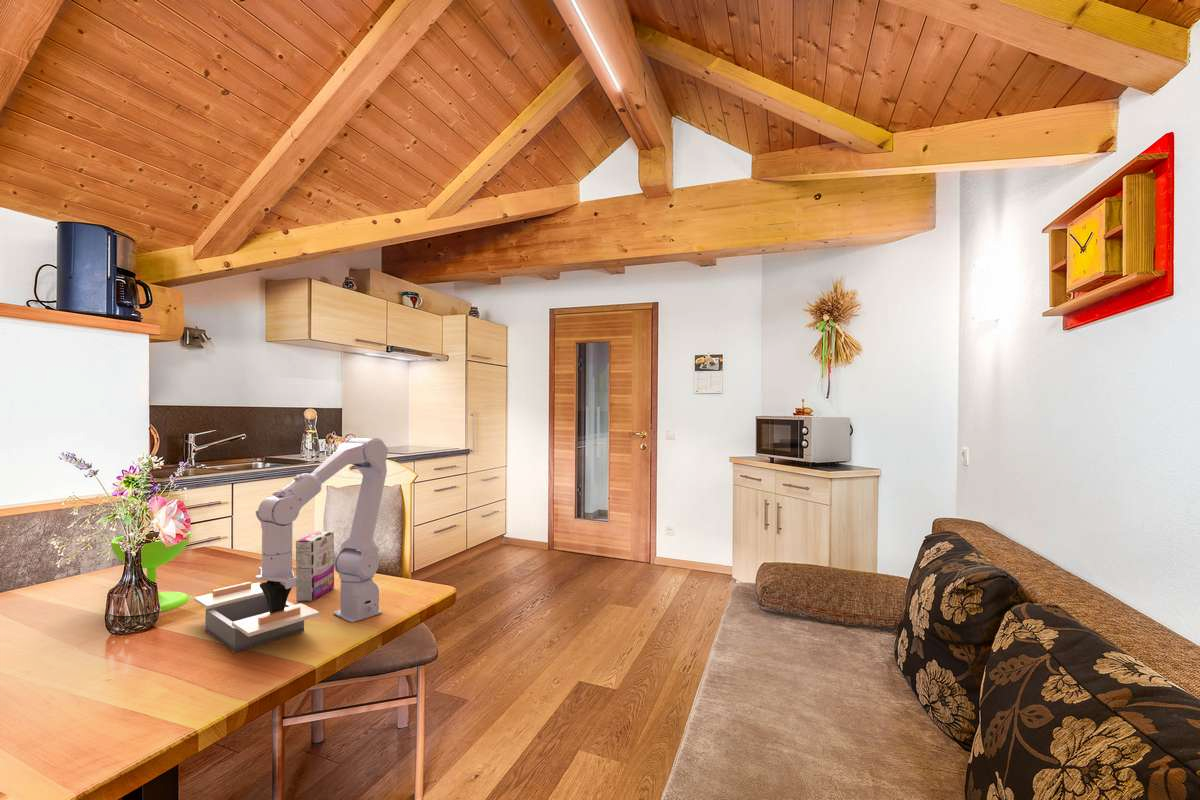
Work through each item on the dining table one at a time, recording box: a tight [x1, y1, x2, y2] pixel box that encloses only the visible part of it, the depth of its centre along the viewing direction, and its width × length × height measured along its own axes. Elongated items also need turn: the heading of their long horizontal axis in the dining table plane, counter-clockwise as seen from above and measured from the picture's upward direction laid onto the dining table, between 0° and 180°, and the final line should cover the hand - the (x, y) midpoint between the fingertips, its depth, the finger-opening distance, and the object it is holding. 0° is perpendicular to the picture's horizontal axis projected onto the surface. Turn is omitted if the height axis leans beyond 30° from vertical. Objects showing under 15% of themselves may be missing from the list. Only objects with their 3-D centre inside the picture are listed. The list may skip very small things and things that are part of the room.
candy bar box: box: [295, 530, 335, 602], centre depth 149 cm, size 11×5×16 cm, turn 179°
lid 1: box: [193, 581, 264, 610], centre depth 132 cm, size 9×14×2 cm, turn 142°
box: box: [204, 595, 305, 654], centre depth 125 cm, size 18×14×5 cm
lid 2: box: [232, 602, 320, 637], centre depth 117 cm, size 9×14×2 cm, turn 142°
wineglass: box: [110, 530, 191, 613], centre depth 141 cm, size 16×16×18 cm
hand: (276, 614), depth 117 cm, fingers closed
